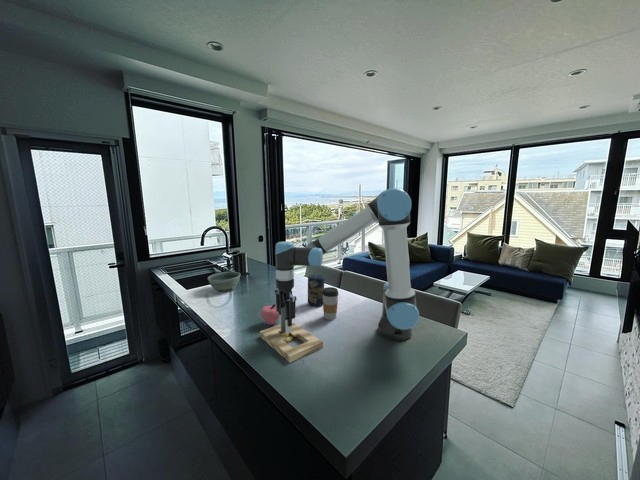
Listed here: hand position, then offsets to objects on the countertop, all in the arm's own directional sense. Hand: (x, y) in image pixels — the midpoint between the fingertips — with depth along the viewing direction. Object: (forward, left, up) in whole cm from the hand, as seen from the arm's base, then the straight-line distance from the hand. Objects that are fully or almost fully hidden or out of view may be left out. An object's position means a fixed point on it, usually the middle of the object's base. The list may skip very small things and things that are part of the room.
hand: (285, 330), depth 114 cm
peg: (0, 0, -4) cm, 4 cm away
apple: (+17, -2, -4) cm, 17 cm away
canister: (+22, -34, -4) cm, 40 cm away
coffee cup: (+4, -29, -4) cm, 30 cm away
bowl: (+80, -2, -4) cm, 80 cm away
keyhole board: (-3, 0, -4) cm, 5 cm away
